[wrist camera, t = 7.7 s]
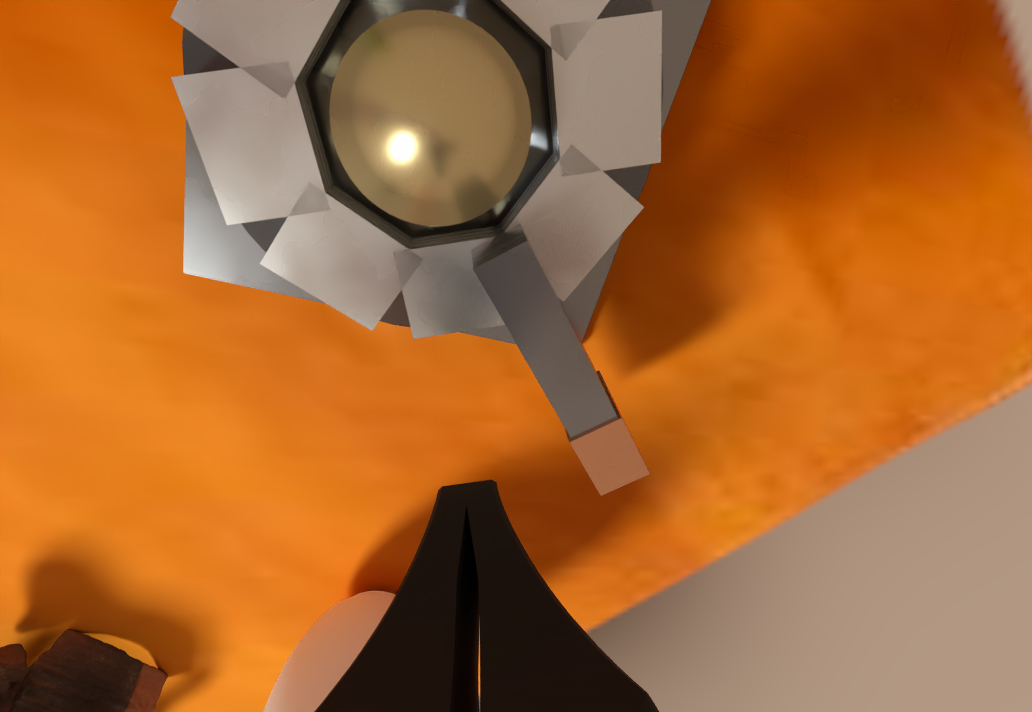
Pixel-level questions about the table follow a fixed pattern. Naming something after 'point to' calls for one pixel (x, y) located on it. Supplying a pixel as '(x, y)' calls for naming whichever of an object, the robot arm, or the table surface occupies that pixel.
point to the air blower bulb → (327, 652)
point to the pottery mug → (77, 678)
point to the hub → (424, 131)
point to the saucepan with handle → (455, 255)
